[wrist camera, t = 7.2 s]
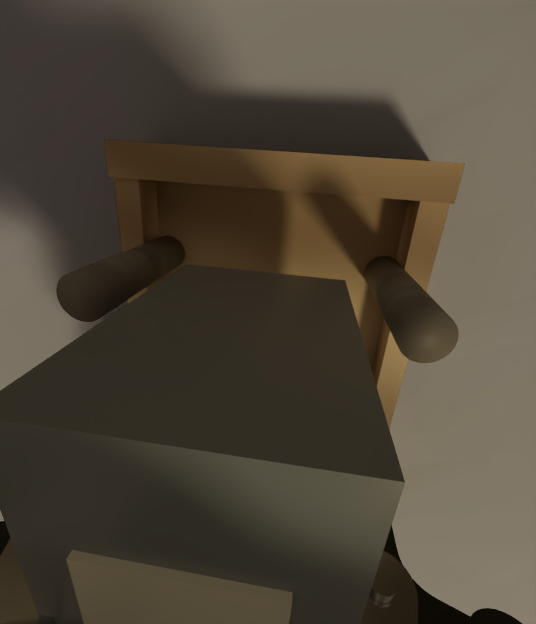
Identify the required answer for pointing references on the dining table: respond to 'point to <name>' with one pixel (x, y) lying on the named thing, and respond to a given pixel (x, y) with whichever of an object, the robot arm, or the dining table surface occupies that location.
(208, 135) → the dining table surface
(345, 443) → the block
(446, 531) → the dining table surface
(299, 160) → the pin tray
